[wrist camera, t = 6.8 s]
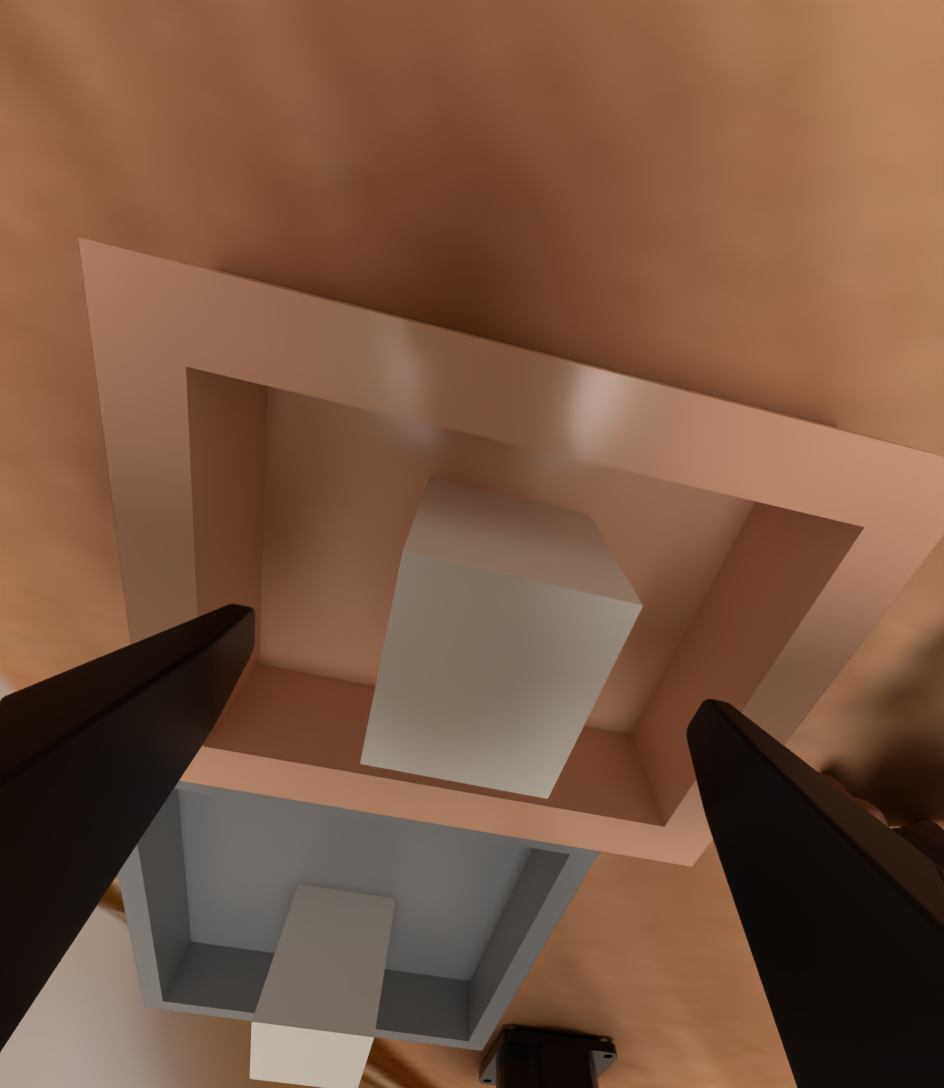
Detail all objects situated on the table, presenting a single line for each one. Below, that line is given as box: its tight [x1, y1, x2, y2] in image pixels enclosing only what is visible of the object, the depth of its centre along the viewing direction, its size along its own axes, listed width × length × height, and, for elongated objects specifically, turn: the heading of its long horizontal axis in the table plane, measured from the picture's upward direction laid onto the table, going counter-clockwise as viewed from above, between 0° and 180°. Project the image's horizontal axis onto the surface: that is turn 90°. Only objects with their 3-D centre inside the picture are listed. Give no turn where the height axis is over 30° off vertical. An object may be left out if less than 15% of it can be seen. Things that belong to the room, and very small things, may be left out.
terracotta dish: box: [78, 237, 944, 867], centre depth 11 cm, size 11×14×4 cm
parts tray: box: [118, 781, 600, 1051], centre depth 17 cm, size 16×15×3 cm
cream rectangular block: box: [360, 476, 643, 799], centre depth 10 cm, size 5×4×4 cm
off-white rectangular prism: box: [250, 884, 396, 1088], centre depth 17 cm, size 5×4×4 cm
